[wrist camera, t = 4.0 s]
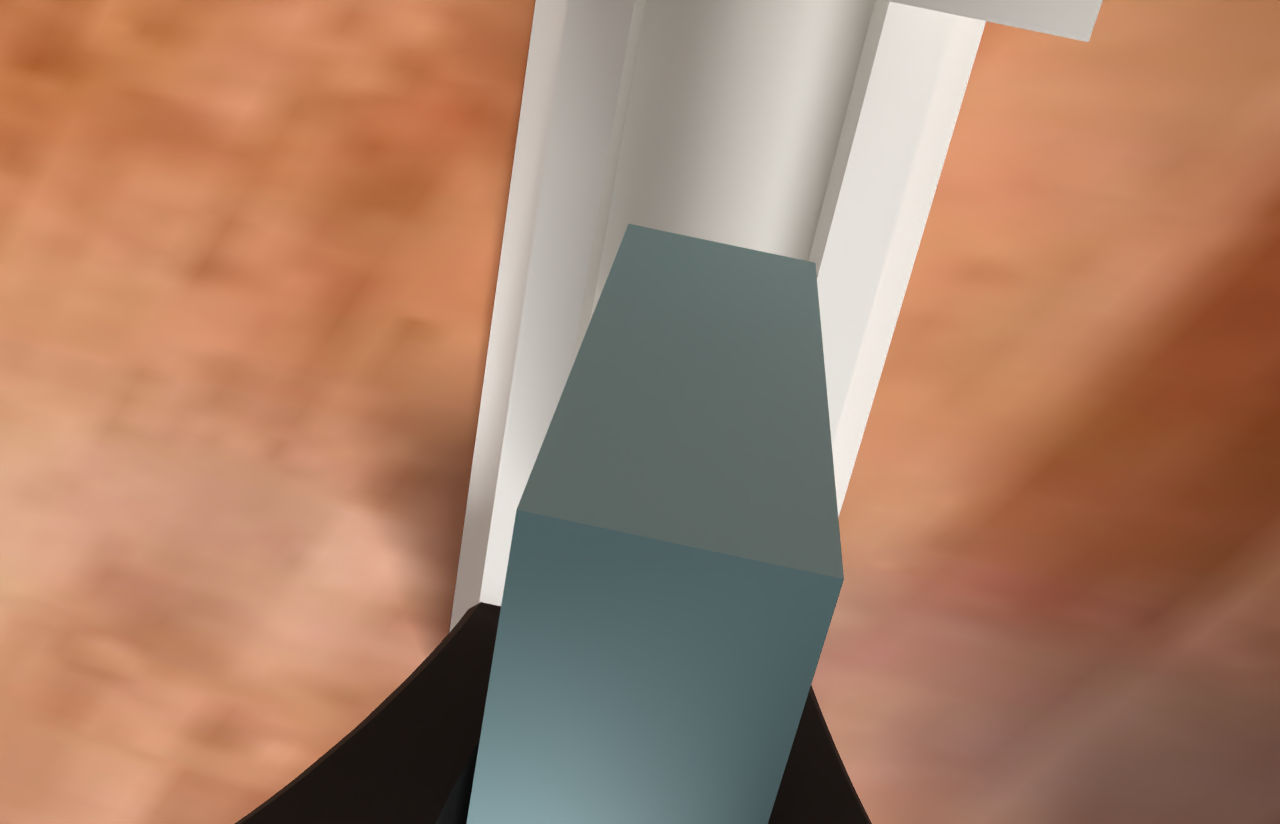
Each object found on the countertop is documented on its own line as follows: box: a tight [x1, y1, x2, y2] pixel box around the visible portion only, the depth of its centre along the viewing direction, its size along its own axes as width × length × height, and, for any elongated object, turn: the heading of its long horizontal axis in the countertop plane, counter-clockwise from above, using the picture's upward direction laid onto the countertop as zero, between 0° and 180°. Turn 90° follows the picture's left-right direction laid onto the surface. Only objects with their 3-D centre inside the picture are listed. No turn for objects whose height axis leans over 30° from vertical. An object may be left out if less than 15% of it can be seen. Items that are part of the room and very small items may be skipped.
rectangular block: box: [466, 224, 844, 824], centre depth 12 cm, size 8×2×6 cm, turn 169°
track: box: [449, 0, 1103, 633], centre depth 17 cm, size 16×6×6 cm, turn 170°
